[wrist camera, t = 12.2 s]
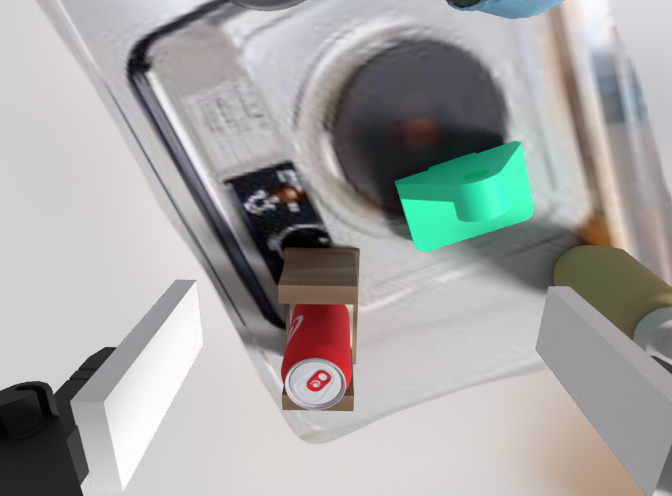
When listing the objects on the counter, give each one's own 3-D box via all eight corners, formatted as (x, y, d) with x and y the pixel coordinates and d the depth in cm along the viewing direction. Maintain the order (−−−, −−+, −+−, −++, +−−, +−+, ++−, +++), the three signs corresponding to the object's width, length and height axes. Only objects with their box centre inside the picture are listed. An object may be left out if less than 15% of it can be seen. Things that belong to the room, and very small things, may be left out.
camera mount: (413, 245, 46) (432, 287, 36) (393, 179, 43) (408, 204, 34) (524, 210, 44) (576, 244, 35) (510, 139, 42) (561, 154, 32)
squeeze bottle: (549, 312, 48) (662, 431, 31) (534, 249, 46) (647, 343, 29) (622, 288, 47) (780, 399, 30) (610, 223, 44) (776, 304, 28)
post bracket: (284, 247, 46) (272, 282, 37) (359, 248, 46) (363, 284, 37) (288, 357, 51) (277, 411, 42) (355, 359, 51) (358, 412, 42)
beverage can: (281, 316, 47) (263, 388, 36) (317, 278, 46) (309, 341, 34) (325, 348, 49) (319, 426, 37) (361, 312, 47) (367, 383, 36)
